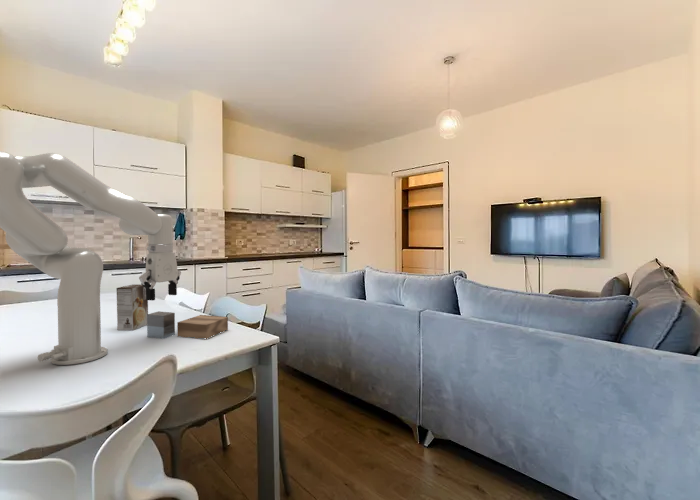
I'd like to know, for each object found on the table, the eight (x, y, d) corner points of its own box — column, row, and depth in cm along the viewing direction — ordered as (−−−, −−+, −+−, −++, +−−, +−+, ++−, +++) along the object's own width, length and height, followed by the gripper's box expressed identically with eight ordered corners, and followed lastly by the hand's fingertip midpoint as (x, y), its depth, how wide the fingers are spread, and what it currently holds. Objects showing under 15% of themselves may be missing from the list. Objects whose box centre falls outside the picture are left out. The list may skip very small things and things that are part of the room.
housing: (163, 338, 115) (163, 315, 115) (147, 337, 117) (147, 314, 116) (174, 334, 120) (174, 312, 120) (158, 333, 122) (158, 311, 121)
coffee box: (133, 324, 134) (132, 284, 133) (148, 324, 133) (148, 284, 133) (116, 330, 124) (115, 287, 124) (133, 330, 124) (132, 287, 124)
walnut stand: (206, 339, 115) (206, 324, 115) (177, 336, 118) (177, 322, 118) (227, 330, 126) (227, 317, 126) (200, 327, 129) (200, 314, 129)
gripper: (148, 250, 108) (150, 303, 109) (187, 248, 125) (188, 293, 126) (130, 250, 110) (131, 301, 111) (170, 248, 127) (172, 292, 128)
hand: (162, 297), depth 118 cm, fingers open, 9 cm apart
